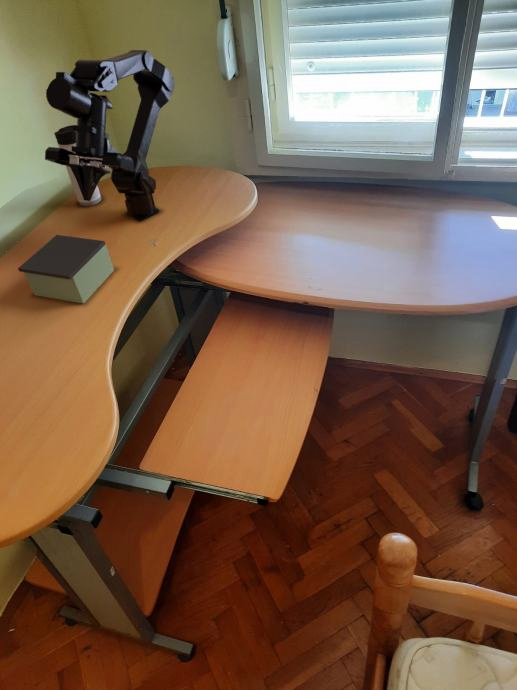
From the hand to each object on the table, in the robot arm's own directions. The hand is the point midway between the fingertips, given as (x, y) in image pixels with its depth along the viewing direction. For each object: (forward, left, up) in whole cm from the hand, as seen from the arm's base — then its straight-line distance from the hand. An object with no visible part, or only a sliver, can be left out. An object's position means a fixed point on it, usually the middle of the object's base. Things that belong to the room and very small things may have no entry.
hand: (87, 200), depth 101 cm
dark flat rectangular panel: (+12, +6, -6) cm, 14 cm away
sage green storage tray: (+11, +6, -13) cm, 18 cm away
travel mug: (-12, -26, -13) cm, 32 cm away
